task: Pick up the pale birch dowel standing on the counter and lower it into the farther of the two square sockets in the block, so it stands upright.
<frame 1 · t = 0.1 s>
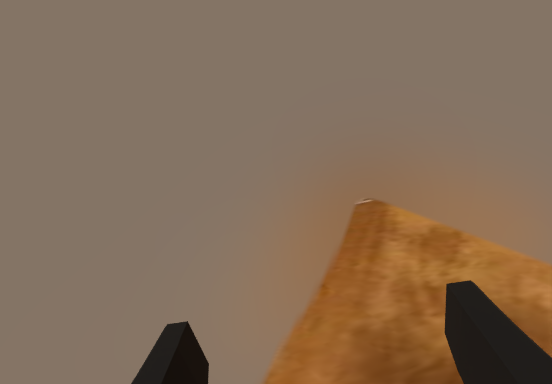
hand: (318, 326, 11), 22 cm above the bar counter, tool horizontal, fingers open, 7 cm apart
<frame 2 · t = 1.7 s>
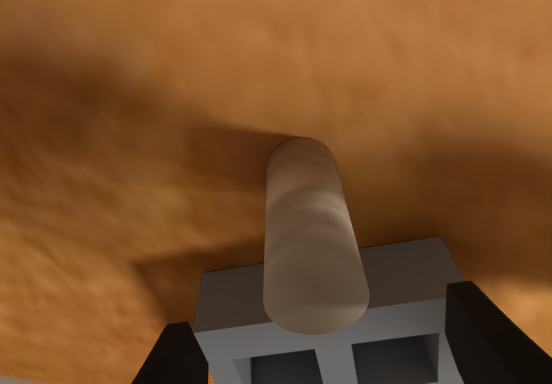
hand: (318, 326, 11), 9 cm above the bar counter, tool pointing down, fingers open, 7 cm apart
dowel: (301, 168, 19), on the bar counter
socket block: (329, 310, 24), on the bar counter
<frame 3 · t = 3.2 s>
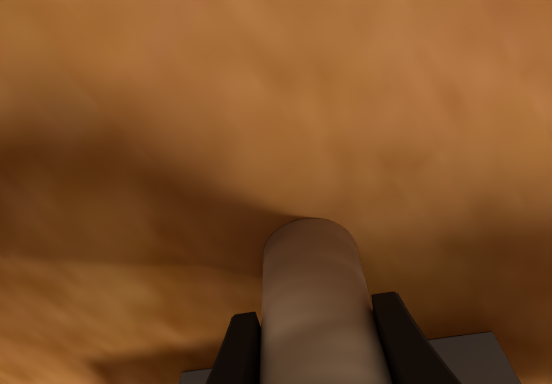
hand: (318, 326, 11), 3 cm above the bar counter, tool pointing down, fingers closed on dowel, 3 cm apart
dowel: (309, 255, 14), on the bar counter, touching gripper
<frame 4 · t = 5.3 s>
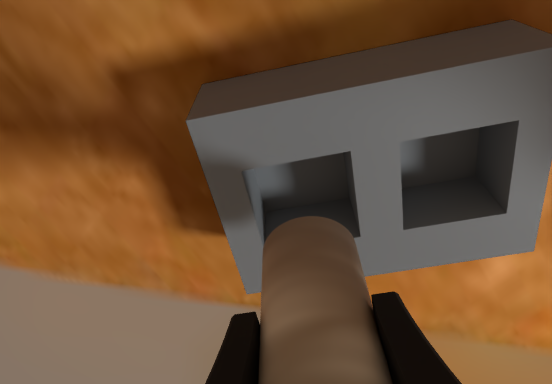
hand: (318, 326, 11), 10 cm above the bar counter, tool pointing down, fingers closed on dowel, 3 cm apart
dowel: (309, 253, 14), point 7 cm above the bar counter, touching gripper
socket block: (360, 147, 19), on the bar counter
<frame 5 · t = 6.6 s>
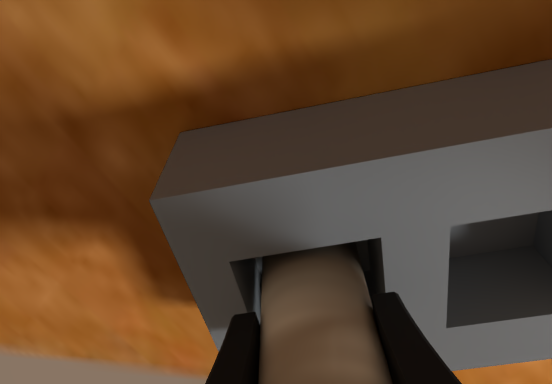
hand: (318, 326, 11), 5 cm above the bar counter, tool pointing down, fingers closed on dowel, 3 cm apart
dowel: (309, 253, 14), point 2 cm above the bar counter, touching gripper
socket block: (384, 207, 15), on the bar counter
when the fingers open (5 cm above the bar counter, at t = 7.5 s): dowel stays where it is, resting on socket block.
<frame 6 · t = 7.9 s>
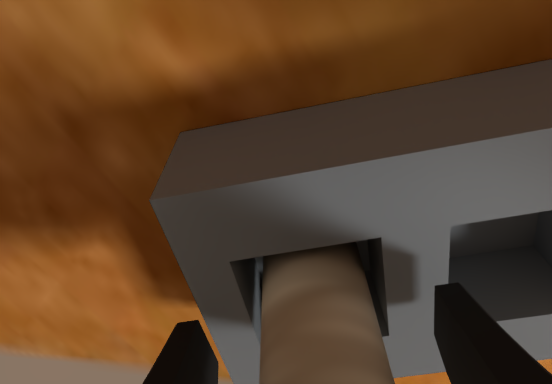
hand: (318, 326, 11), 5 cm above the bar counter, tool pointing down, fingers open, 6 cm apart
dowel: (308, 236, 14), point 1 cm above the bar counter, touching socket block
socket block: (384, 207, 15), on the bar counter
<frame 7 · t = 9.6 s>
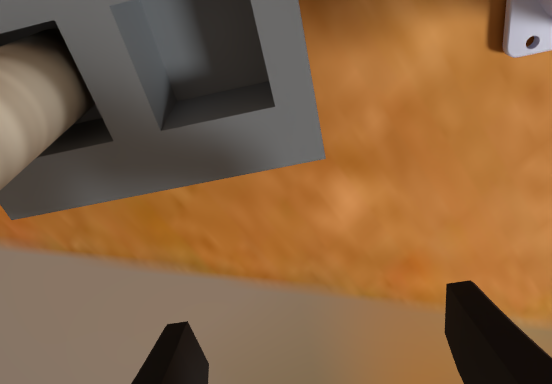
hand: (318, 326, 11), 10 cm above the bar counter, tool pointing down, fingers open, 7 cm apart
dowel: (66, 71, 16), point 1 cm above the bar counter, touching socket block
socket block: (143, 49, 17), on the bar counter
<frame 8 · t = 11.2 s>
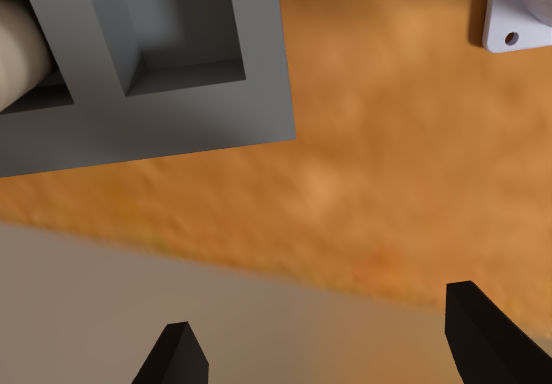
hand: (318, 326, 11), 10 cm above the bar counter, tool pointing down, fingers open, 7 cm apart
dowel: (31, 29, 15), point 1 cm above the bar counter, touching socket block
socket block: (116, 14, 16), on the bar counter
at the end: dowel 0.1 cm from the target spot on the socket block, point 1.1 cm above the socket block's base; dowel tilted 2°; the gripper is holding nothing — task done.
